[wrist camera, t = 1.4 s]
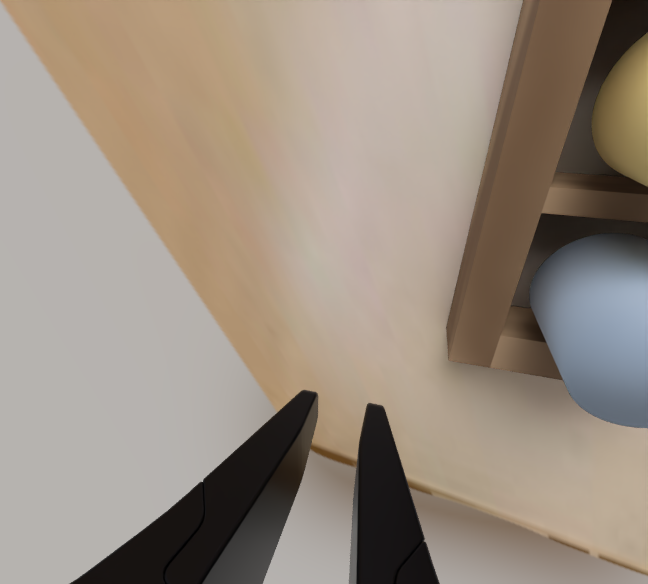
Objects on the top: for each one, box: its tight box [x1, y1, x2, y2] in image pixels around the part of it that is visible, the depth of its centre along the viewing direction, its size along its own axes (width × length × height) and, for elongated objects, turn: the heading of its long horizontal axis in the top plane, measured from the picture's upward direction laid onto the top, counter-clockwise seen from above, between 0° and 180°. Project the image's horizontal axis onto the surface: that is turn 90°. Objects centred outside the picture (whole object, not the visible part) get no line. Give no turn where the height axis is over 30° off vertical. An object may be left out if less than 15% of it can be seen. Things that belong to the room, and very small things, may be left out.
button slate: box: [529, 233, 648, 428], centre depth 13 cm, size 5×5×5 cm
